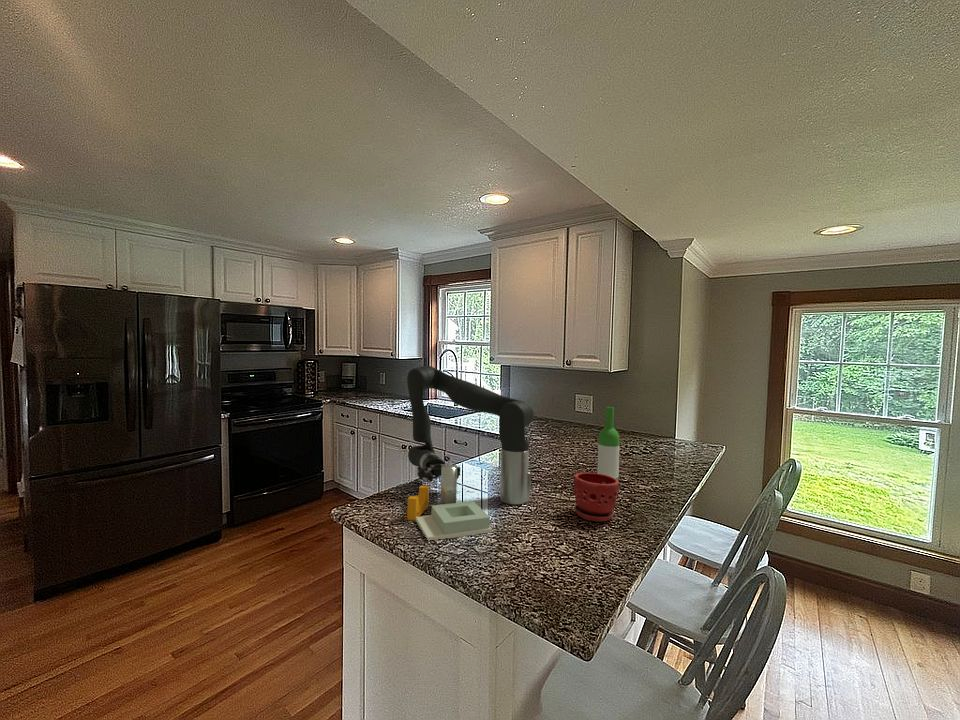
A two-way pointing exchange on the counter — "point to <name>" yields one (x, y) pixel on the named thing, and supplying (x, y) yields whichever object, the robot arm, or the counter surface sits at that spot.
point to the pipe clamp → (418, 503)
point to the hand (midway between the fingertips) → (444, 477)
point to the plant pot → (595, 496)
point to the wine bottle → (608, 447)
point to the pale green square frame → (454, 521)
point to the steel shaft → (448, 484)
